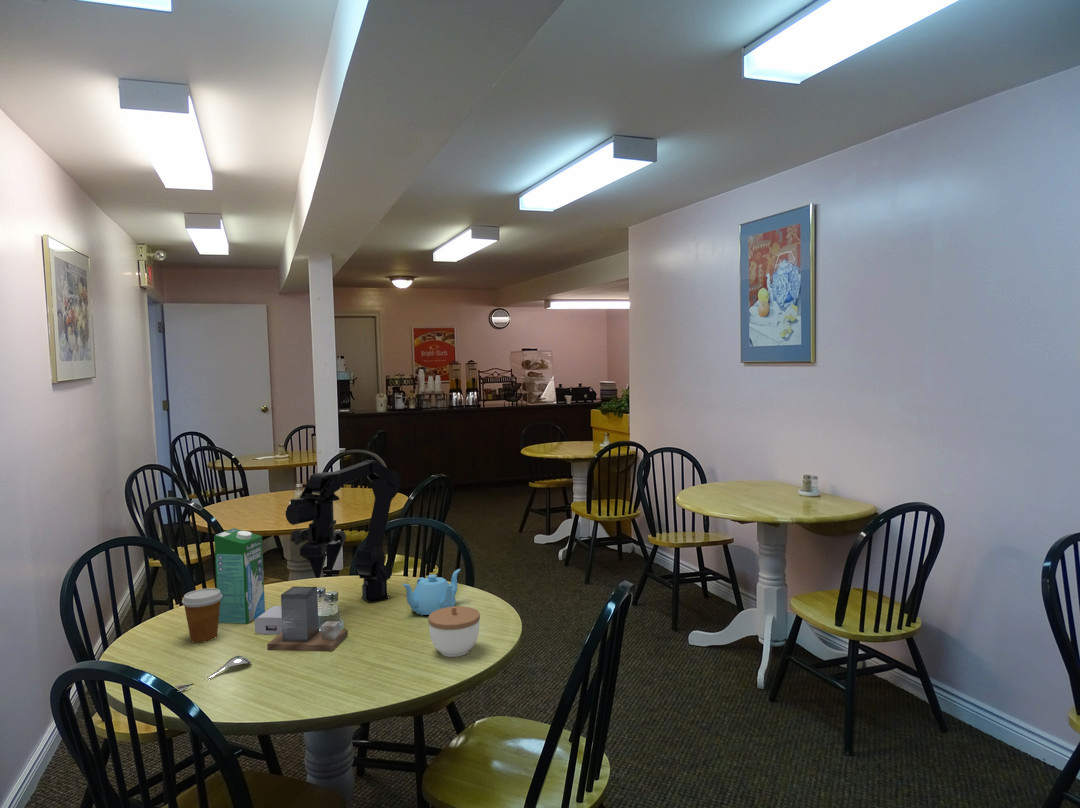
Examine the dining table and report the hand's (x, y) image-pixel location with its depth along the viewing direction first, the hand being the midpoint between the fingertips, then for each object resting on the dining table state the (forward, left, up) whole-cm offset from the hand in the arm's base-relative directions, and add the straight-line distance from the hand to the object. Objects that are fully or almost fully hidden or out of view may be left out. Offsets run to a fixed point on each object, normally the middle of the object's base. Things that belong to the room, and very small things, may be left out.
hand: (324, 573), depth 190 cm
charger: (+10, -4, -13) cm, 17 cm away
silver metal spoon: (+35, +19, -14) cm, 42 cm away
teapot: (-26, +16, -13) cm, 33 cm away
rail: (+10, +14, -13) cm, 21 cm away
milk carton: (+18, -17, -13) cm, 28 cm away
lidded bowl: (-15, +44, -13) cm, 48 cm away
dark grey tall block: (+12, +12, -12) cm, 20 cm away
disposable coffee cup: (+30, -8, -13) cm, 34 cm away
